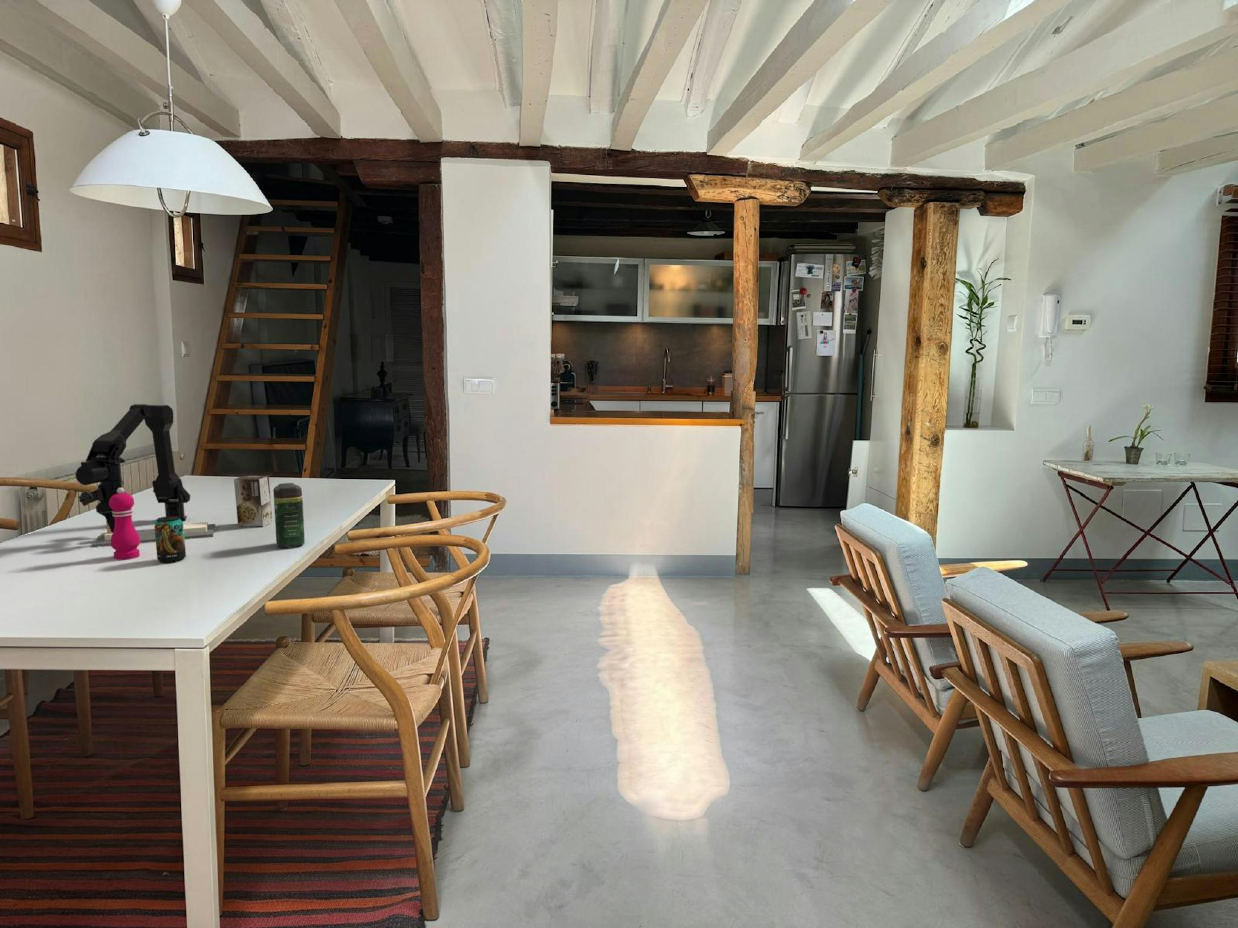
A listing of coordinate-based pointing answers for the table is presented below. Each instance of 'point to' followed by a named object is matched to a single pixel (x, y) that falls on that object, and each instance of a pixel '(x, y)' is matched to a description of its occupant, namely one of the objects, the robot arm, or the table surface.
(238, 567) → the table surface
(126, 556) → the pepper mill
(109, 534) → the stub
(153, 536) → the mat
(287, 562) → the table surface
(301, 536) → the coffee jar
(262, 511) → the coffee box
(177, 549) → the beverage can
